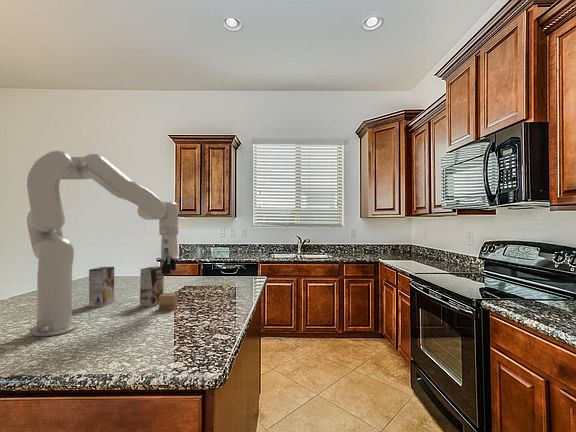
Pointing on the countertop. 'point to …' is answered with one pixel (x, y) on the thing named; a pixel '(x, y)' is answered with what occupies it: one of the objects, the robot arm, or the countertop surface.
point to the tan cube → (167, 301)
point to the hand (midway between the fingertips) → (169, 271)
